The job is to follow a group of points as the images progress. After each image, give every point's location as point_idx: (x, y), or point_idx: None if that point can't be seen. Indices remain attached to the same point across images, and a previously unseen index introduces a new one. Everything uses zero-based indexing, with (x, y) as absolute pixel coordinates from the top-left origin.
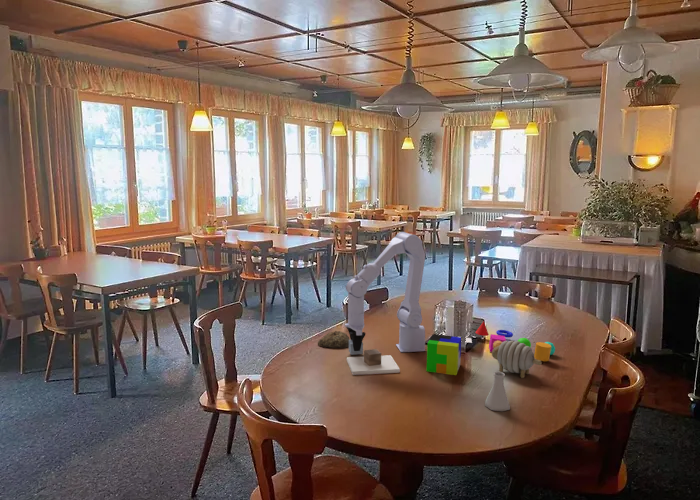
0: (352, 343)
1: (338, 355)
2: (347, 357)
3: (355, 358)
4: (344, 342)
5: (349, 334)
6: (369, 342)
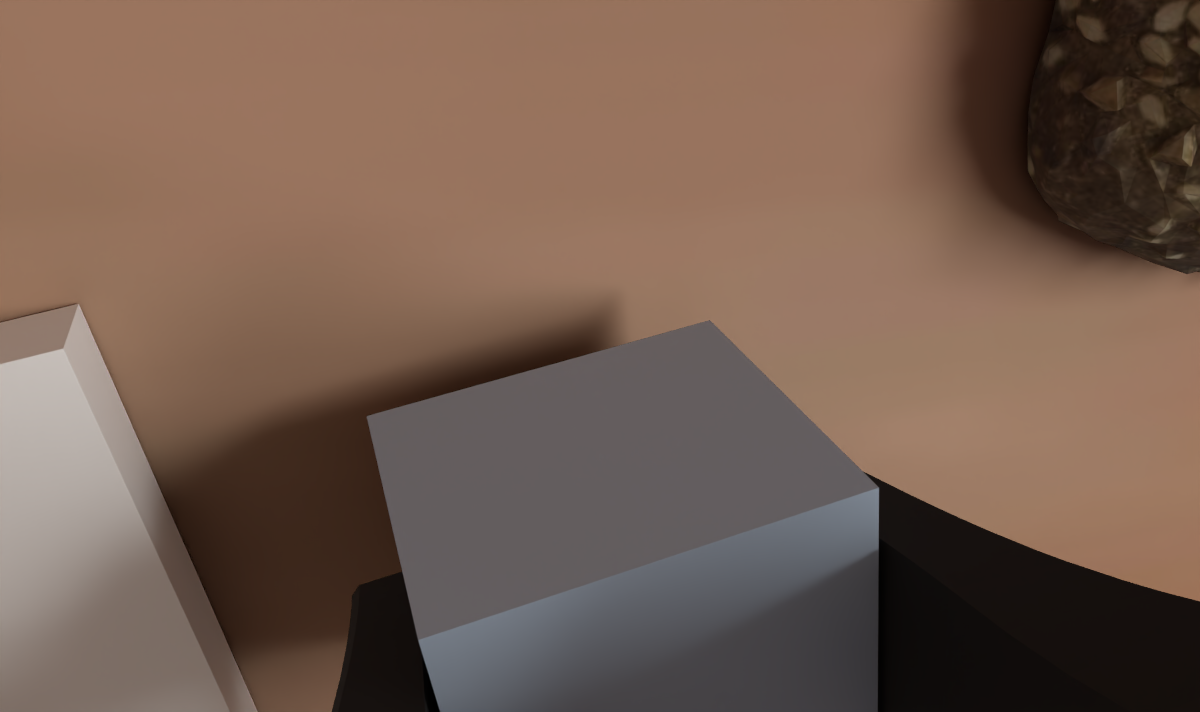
0: (476, 683)
1: (498, 13)
2: (47, 373)
3: (27, 597)
4: (1158, 181)
5: (1116, 579)
6: (1181, 580)
